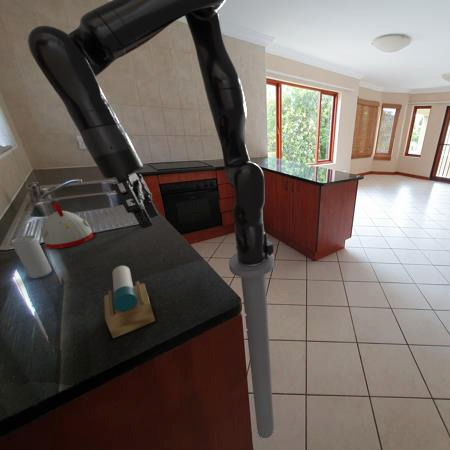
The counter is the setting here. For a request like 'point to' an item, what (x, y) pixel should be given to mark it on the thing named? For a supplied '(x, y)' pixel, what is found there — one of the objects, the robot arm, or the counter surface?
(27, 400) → the counter surface
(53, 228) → the kitchen timer
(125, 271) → the marker
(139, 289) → the cradle
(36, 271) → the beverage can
